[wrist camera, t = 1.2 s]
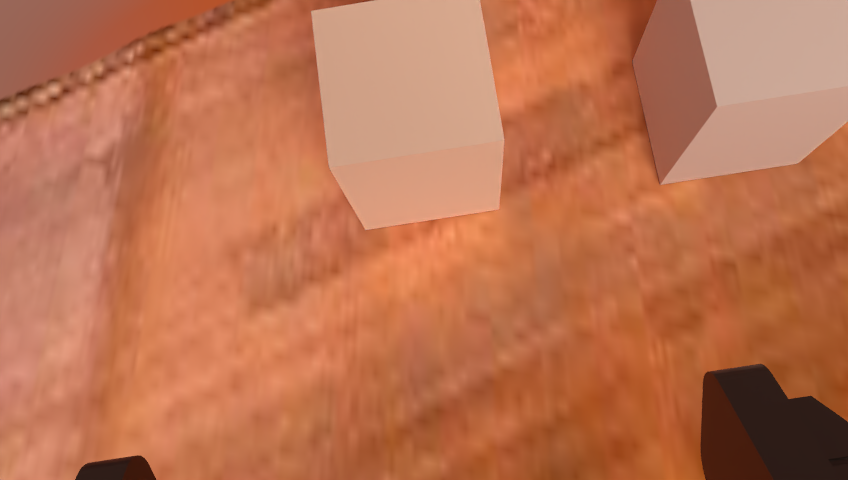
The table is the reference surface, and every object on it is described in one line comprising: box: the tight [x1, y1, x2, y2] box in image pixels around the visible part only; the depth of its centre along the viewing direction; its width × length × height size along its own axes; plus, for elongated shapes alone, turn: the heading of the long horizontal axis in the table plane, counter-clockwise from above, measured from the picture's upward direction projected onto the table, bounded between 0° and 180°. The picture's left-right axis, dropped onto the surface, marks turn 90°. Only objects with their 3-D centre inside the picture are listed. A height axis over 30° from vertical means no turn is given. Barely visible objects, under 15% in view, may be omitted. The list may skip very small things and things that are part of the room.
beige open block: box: [311, 0, 505, 230], centre depth 33 cm, size 6×6×9 cm
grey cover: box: [632, 0, 848, 185], centre depth 32 cm, size 6×6×9 cm
